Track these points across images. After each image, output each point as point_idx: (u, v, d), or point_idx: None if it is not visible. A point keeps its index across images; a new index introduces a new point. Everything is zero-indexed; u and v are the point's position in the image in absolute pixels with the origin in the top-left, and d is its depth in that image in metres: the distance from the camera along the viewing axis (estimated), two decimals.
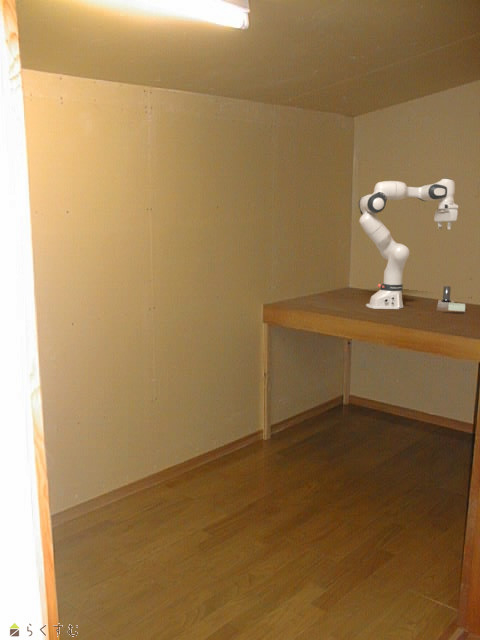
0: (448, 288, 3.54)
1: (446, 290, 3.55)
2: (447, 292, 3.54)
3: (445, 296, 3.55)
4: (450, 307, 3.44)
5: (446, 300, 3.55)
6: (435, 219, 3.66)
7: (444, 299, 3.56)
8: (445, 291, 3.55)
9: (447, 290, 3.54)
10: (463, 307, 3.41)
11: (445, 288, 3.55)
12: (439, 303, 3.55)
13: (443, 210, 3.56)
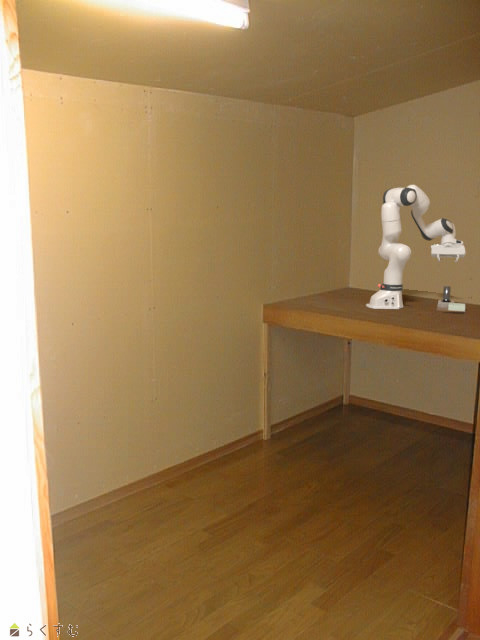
0: (448, 288, 3.54)
1: (446, 290, 3.55)
2: (447, 292, 3.54)
3: (445, 296, 3.55)
4: (450, 307, 3.44)
5: (446, 300, 3.55)
6: (434, 251, 3.69)
7: (444, 299, 3.56)
8: (445, 291, 3.55)
9: (447, 290, 3.54)
10: (463, 307, 3.41)
11: (445, 288, 3.55)
12: (439, 303, 3.55)
13: (451, 245, 3.68)
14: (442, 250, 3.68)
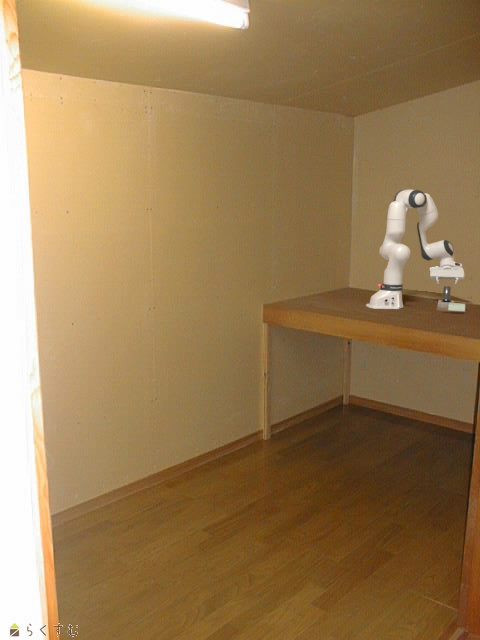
0: (448, 288, 3.54)
1: (445, 290, 3.55)
2: (447, 292, 3.55)
3: (445, 296, 3.55)
4: (450, 307, 3.44)
5: (446, 300, 3.55)
6: (433, 274, 3.65)
7: (444, 299, 3.56)
8: (445, 291, 3.55)
9: (447, 290, 3.54)
10: (463, 307, 3.41)
11: (445, 288, 3.55)
12: (439, 303, 3.55)
13: (450, 267, 3.65)
14: (441, 272, 3.65)
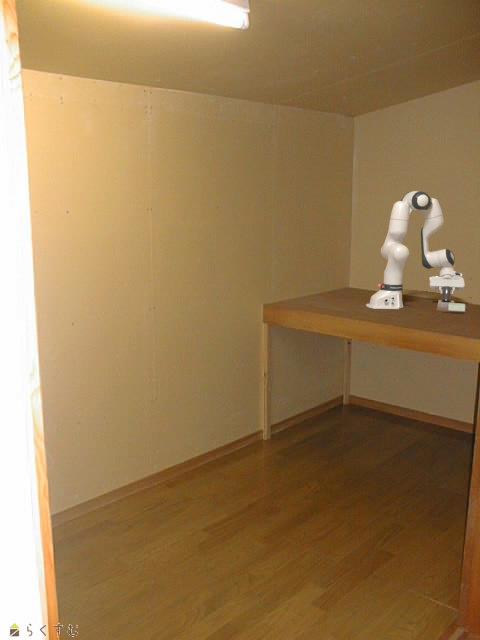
0: (448, 288, 3.54)
1: (445, 290, 3.55)
2: (447, 292, 3.55)
3: (445, 296, 3.55)
4: (450, 307, 3.44)
5: (446, 300, 3.55)
6: (433, 284, 3.60)
7: (444, 299, 3.56)
8: (445, 291, 3.55)
9: (447, 290, 3.54)
10: (463, 307, 3.41)
11: (445, 288, 3.55)
12: (439, 303, 3.55)
13: (450, 277, 3.60)
14: (441, 282, 3.59)
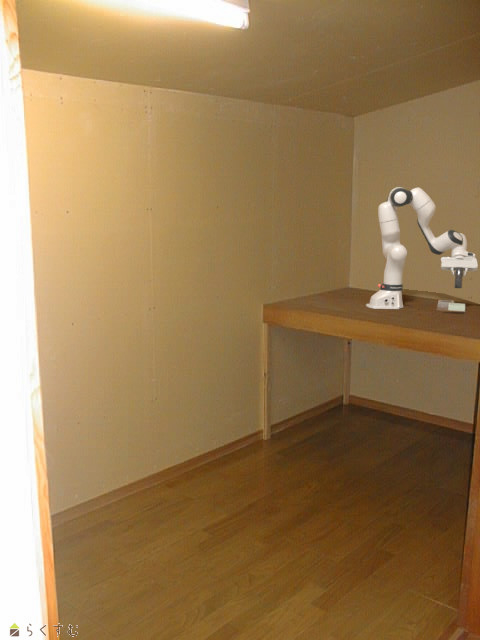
0: (460, 269, 3.41)
1: (458, 270, 3.41)
2: (459, 273, 3.41)
3: (457, 277, 3.42)
4: (450, 307, 3.44)
5: (458, 281, 3.42)
6: (445, 264, 3.46)
7: (456, 280, 3.43)
8: (457, 272, 3.41)
9: (459, 270, 3.41)
10: (463, 307, 3.41)
11: (457, 269, 3.41)
12: (439, 303, 3.55)
13: (462, 257, 3.46)
14: (453, 263, 3.46)
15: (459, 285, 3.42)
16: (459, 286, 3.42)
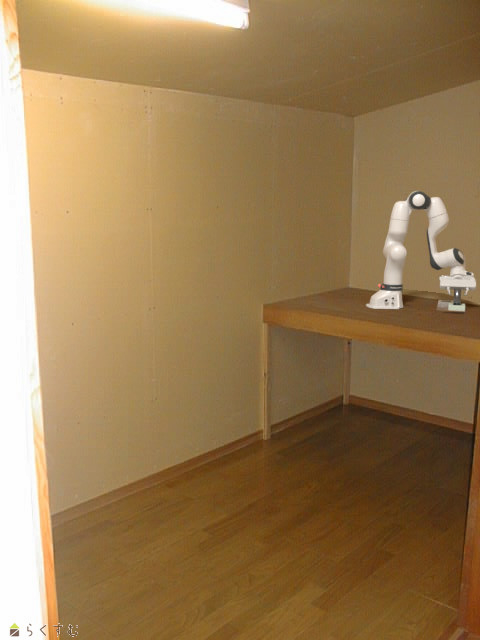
0: (459, 291, 3.43)
1: (456, 292, 3.43)
2: (458, 295, 3.43)
3: (456, 299, 3.44)
4: (450, 307, 3.44)
5: (457, 303, 3.44)
6: (443, 284, 3.49)
7: (454, 302, 3.45)
8: (455, 294, 3.44)
9: (457, 292, 3.43)
10: (463, 307, 3.41)
11: (455, 291, 3.43)
12: (439, 303, 3.55)
13: (461, 277, 3.48)
14: (451, 282, 3.48)
15: None
16: None
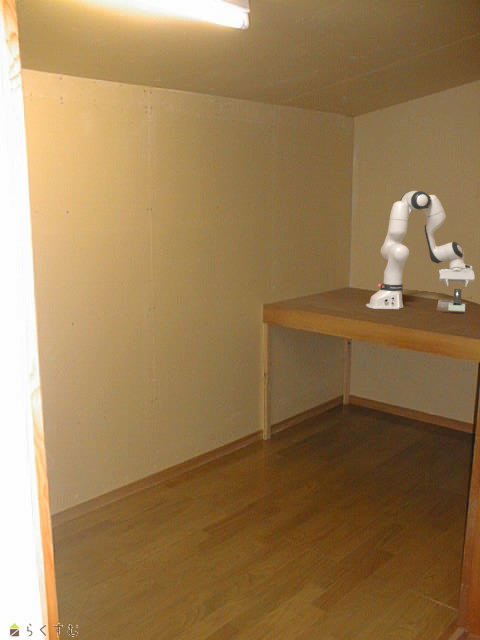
0: (459, 291, 3.43)
1: (456, 292, 3.43)
2: (458, 295, 3.43)
3: (456, 299, 3.44)
4: (450, 307, 3.44)
5: (457, 303, 3.44)
6: (443, 276, 3.60)
7: (455, 302, 3.45)
8: (456, 294, 3.44)
9: (458, 292, 3.43)
10: (463, 307, 3.41)
11: (456, 291, 3.44)
12: (439, 303, 3.55)
13: (460, 269, 3.59)
14: (451, 275, 3.59)
15: None
16: None
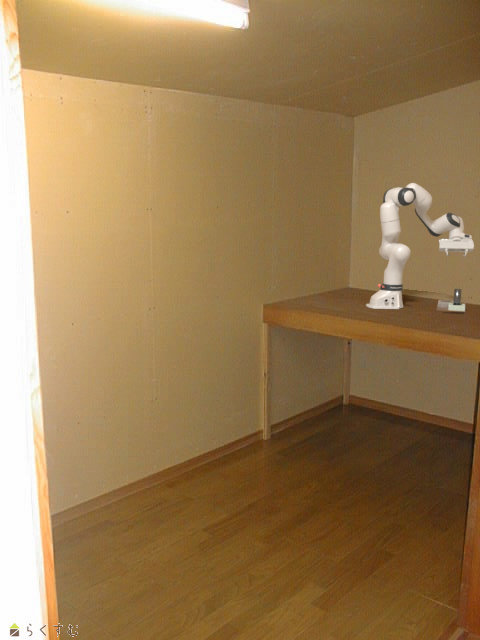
0: (459, 291, 3.43)
1: (456, 292, 3.43)
2: (458, 295, 3.43)
3: (456, 299, 3.44)
4: (450, 307, 3.44)
5: (457, 303, 3.44)
6: (442, 246, 3.63)
7: (455, 302, 3.45)
8: (456, 294, 3.44)
9: (458, 292, 3.43)
10: (463, 307, 3.41)
11: (456, 291, 3.44)
12: (439, 303, 3.55)
13: (459, 239, 3.63)
14: (450, 244, 3.63)
15: None
16: None
